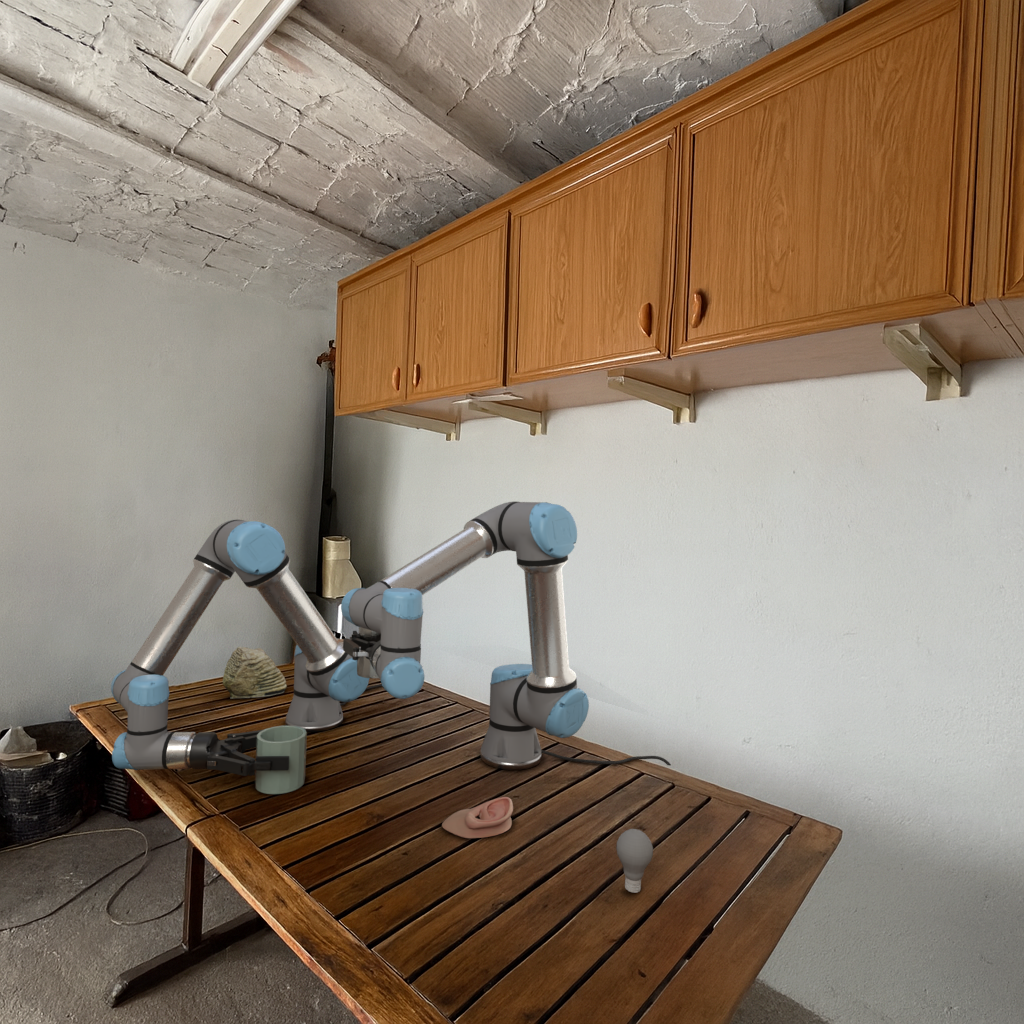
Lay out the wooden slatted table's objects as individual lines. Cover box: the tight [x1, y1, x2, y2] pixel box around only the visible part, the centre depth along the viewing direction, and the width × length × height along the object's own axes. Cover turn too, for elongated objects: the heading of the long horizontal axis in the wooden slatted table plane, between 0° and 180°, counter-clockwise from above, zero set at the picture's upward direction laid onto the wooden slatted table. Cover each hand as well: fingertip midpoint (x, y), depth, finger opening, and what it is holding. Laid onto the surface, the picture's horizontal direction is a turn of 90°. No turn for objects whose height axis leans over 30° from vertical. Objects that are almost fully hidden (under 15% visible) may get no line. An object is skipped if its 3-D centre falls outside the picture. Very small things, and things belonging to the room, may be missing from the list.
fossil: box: [222, 646, 288, 699], centre depth 198 cm, size 9×18×15 cm, turn 132°
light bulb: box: [615, 828, 654, 894], centre depth 106 cm, size 6×6×10 cm
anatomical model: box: [441, 796, 514, 839], centre depth 125 cm, size 13×4×12 cm
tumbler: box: [357, 627, 381, 679], centre depth 145 cm, size 8×8×12 cm
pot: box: [254, 725, 308, 795], centre depth 139 cm, size 10×10×11 cm
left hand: (296, 750), depth 139 cm, fingers open, 13 cm apart
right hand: (373, 635), depth 150 cm, fingers closed on tumbler, 8 cm apart
